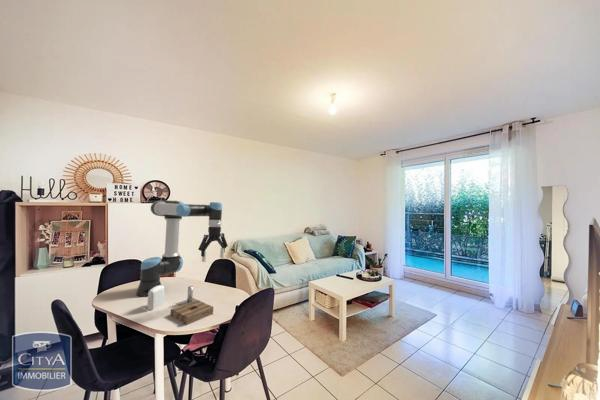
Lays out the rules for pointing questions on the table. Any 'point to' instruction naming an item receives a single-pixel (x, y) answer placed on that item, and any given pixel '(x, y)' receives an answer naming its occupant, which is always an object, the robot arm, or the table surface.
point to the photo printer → (155, 297)
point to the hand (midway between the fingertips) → (213, 259)
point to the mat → (186, 302)
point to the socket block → (191, 311)
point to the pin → (190, 294)
